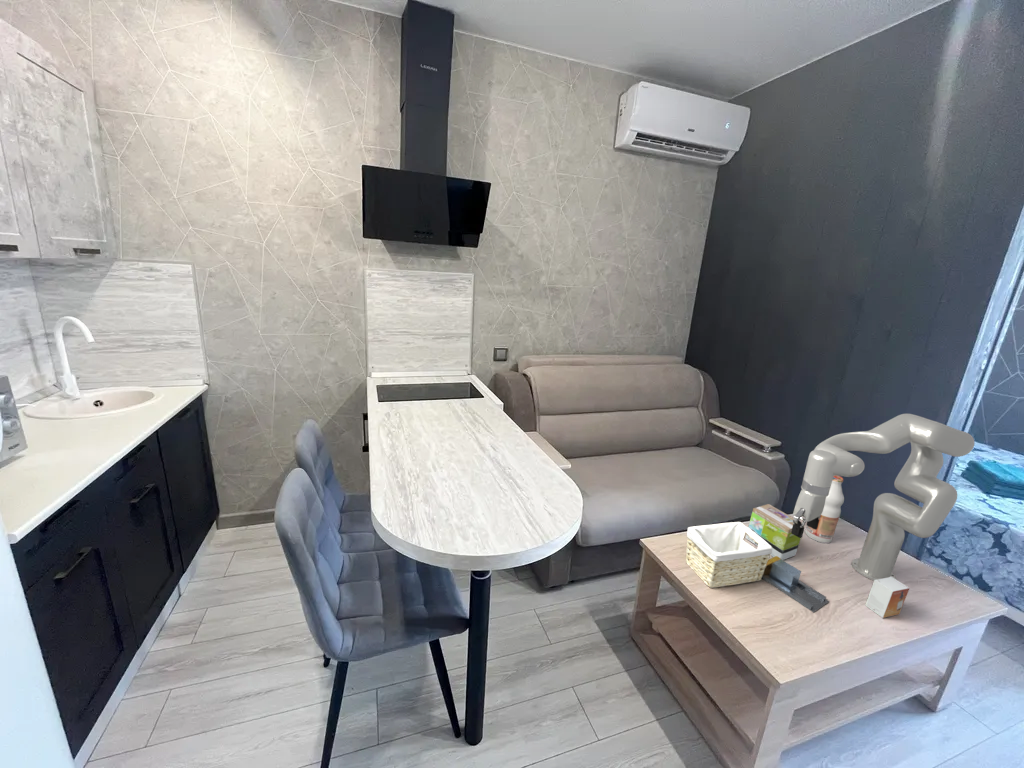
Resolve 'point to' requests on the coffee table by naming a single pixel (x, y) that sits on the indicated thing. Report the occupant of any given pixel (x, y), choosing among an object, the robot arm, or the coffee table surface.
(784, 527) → the tea box
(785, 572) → the block
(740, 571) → the storage basket
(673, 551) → the coffee table surface
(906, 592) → the small box
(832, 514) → the fruit juice
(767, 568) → the dock
